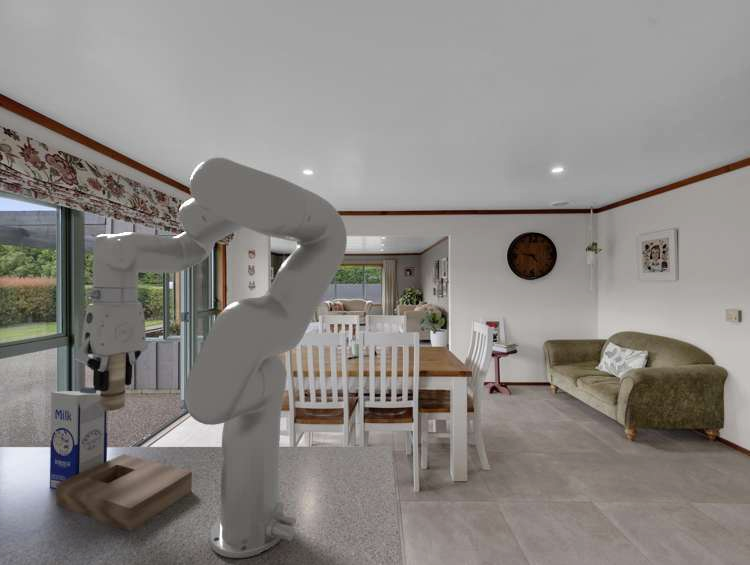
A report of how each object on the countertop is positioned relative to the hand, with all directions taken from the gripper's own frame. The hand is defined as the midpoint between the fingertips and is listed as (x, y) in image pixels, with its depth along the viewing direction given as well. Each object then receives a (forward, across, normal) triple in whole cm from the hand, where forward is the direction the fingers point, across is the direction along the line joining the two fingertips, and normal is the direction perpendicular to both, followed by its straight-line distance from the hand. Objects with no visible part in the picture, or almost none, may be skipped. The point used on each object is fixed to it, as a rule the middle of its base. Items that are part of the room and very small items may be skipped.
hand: (113, 386), depth 74 cm
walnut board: (+22, 0, -4) cm, 22 cm away
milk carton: (+22, 0, +10) cm, 24 cm away
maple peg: (+4, 0, 0) cm, 4 cm away
